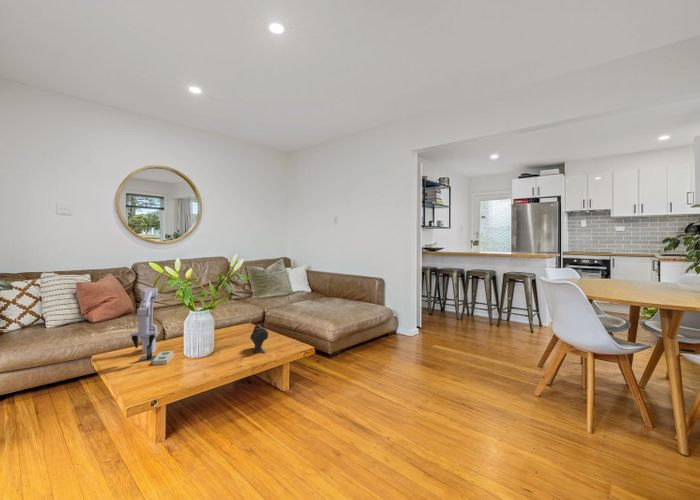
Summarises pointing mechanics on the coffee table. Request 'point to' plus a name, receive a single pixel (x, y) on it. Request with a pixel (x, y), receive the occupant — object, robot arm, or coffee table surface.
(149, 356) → the steel peg
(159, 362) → the socket block
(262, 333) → the dark grey faceted sculpture
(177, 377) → the coffee table surface
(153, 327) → the robot arm
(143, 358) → the rubber mat
